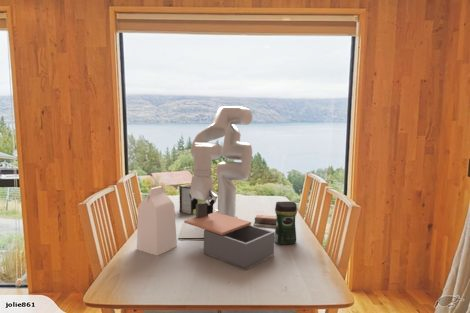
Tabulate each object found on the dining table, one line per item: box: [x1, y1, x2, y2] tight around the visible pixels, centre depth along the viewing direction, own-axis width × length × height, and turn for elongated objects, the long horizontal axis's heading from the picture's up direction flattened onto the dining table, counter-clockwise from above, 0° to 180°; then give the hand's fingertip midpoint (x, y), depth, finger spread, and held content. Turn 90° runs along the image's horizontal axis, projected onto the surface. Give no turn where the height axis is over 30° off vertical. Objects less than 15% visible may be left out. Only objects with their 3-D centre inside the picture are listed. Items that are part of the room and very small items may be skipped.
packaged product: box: [253, 214, 276, 229], centre depth 180 cm, size 18×5×10 cm
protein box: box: [179, 182, 207, 216], centre depth 203 cm, size 10×15×16 cm
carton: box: [203, 224, 275, 271], centre depth 142 cm, size 22×18×10 cm
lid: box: [183, 202, 252, 235], centre depth 148 cm, size 22×18×7 cm
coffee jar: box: [274, 201, 298, 245], centre depth 156 cm, size 10×8×19 cm
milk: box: [136, 185, 178, 256], centre depth 146 cm, size 12×12×26 cm
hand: (202, 211), depth 154 cm, fingers open, 9 cm apart
